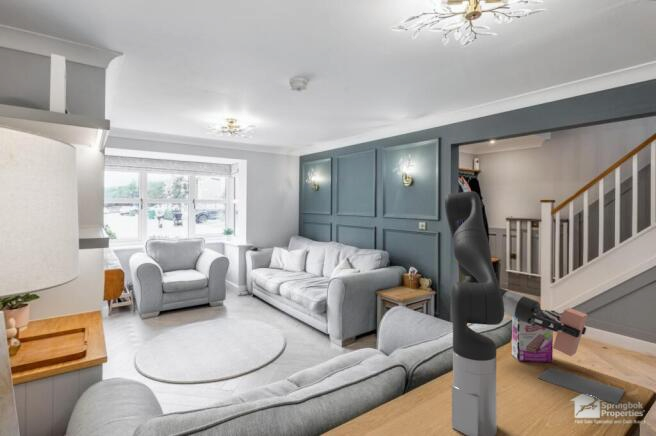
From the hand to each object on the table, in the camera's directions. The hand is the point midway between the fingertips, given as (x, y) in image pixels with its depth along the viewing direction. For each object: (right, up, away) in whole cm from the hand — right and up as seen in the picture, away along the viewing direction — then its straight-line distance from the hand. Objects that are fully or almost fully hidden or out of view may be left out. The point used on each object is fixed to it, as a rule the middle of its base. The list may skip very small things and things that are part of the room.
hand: (582, 332), depth 93 cm
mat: (0, -15, +1) cm, 15 cm away
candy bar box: (-3, -15, +18) cm, 24 cm away
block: (-3, -6, +3) cm, 8 cm away
